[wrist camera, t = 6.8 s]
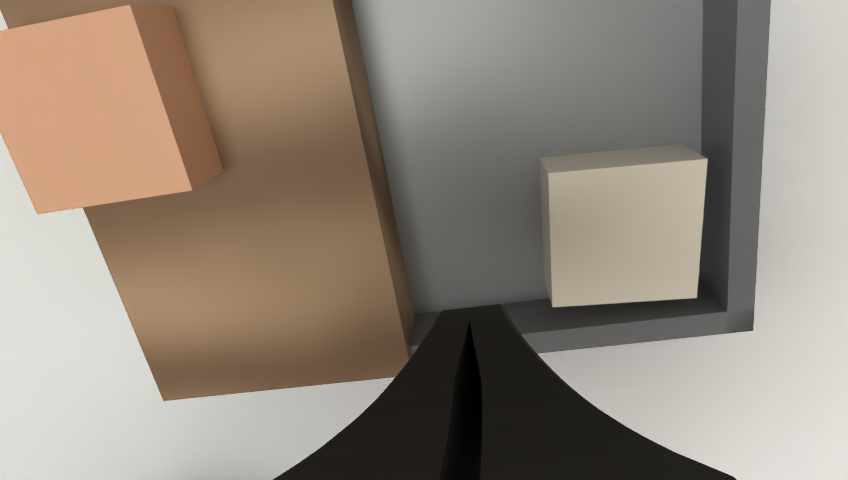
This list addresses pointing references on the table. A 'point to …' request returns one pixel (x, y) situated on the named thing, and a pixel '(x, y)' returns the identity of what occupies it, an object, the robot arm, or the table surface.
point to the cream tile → (622, 225)
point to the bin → (563, 145)
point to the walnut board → (263, 210)
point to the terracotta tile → (103, 109)
